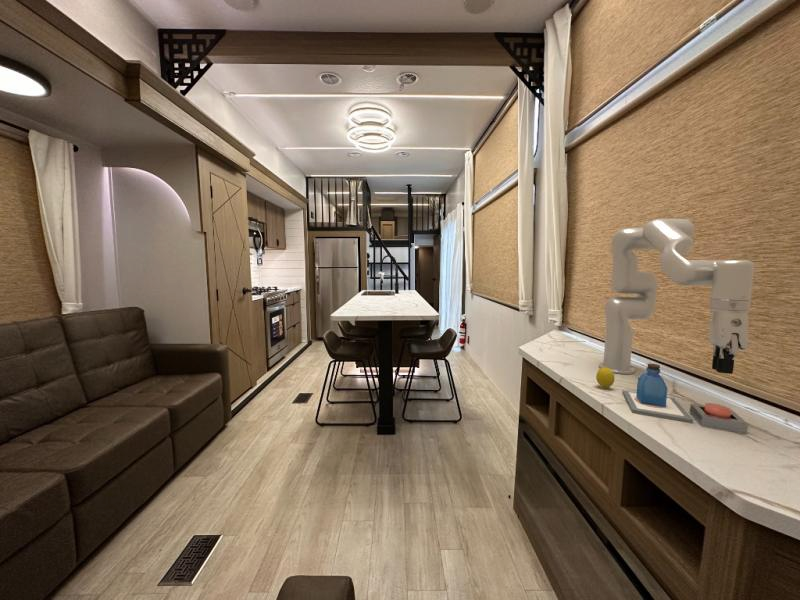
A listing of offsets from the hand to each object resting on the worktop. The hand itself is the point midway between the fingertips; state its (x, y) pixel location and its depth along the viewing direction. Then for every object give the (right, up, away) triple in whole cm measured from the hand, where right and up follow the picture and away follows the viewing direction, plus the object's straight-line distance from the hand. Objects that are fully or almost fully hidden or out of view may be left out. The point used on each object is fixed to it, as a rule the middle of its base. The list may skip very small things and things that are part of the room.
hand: (722, 370), depth 87 cm
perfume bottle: (-10, -13, +13) cm, 20 cm away
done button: (0, -13, +1) cm, 13 cm away
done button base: (0, -15, +2) cm, 15 cm away
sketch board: (-9, -14, +12) cm, 21 cm away
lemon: (-15, -13, +27) cm, 33 cm away
